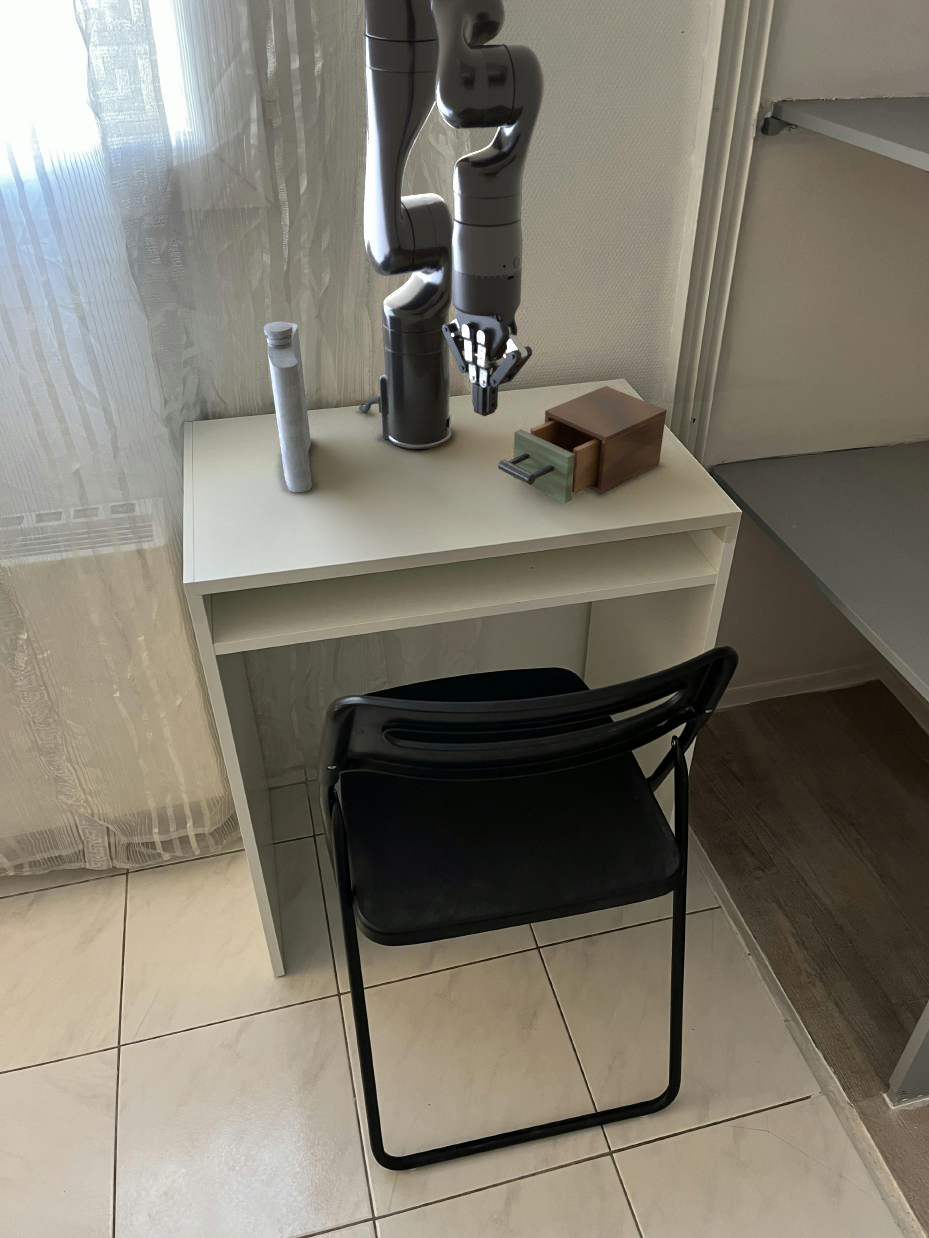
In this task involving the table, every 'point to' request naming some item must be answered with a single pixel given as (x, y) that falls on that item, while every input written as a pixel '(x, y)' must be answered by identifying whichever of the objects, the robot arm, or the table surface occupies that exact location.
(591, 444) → the drawer
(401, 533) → the table surface
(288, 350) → the hip flask
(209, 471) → the table surface
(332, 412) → the table surface
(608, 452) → the cabinet
